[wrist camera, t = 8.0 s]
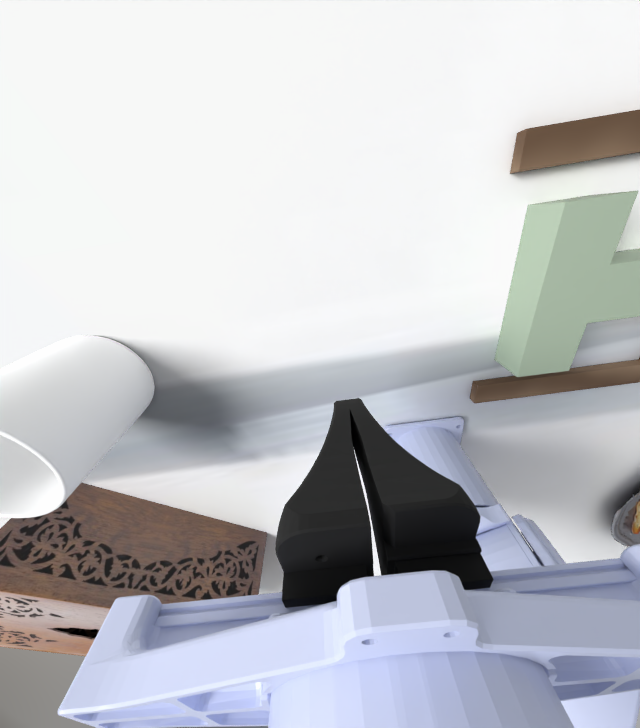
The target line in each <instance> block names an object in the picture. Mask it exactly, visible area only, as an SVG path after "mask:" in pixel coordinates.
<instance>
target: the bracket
mask: <svg viewBox="0 0 640 728" xmlns="http://www.w3.org/2000/svg"><path fill="white" fill-rule="evenodd" d="M639 152H640V110H635V111H629V112H623V113H617V114H611V115H605V116H599V117H593V118H588V119H582V120H576V121H570V122H564V123H558V124H552V125H546V126H540V127H535V128H529V129H525V130H523V131H521V132H518V133H517V137H516V143H515V149H514V154H513V160H512V165H511V171H510V173H516V172H523V171H529V170H535V169H541V168H547V167H553V166H559V165H565V164H572V163H578V162H584V161H590V160H596V159H602V158H608V157H614V156H621V155H627V154H633V153H639ZM637 382H640V358H639V360H631V361H624V362H616V363H608V364H601V365H593V366H586V367H578V368H570V369H569V371H563V372H555V373H547V374H539V375H531V376H523V377H516V376H510V377H502V378H494V379H487V380H479V381H473V383H472V389H471V395H470V399H471V400H472V401H473V402H474V403H481V402H489V401H497V400H505V399H512V398H520V397H528V396H536V395H544V394H551V393H559V392H567V391H575V390H583V389H590V388H598V387H606V386H614V385H622V384H629V383H637Z"/></svg>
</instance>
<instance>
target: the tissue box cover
mask: <svg viewBox="0 0 640 728" xmlns="http://www.w3.org/2000/svg"><path fill="white" fill-rule="evenodd" d="M266 537H267V533H266V532H262V531H259V530H255V529H251V528H248V527H244V526H240V525H236V524H233V523H229V522H225V521H222V520H218V519H214V518H210V517H207V516H203V515H199V514H196V513H192V512H188V511H184V510H181V509H177V508H173V507H170V506H166V505H162V504H158V503H155V502H151V501H147V500H144V499H140V498H136V497H132V496H129V495H125V494H121V493H118V492H114V491H110V490H106V489H103V488H99V487H95V486H92V485H88V484H84V483H80V485H79V486H78V487H77V488H76V489H75V490H74V491H73V492H72V494H71V495H70V496H69V497H68V498H67V499H66V500H65V502H64V503H63V504H62V505H61V506H60V507H59V508H57V509H56V510H54V511H52V512H50V513H48V514H45V515H42V516H37V517H31V518H11V519H10V520H9V521H8V522H7V523H6V524H5V525H4V526H3V527H2V528H1V529H0V647H8V648H17V649H27V650H35V651H45V652H53V653H62V654H72V655H81V656H86V655H87V653H88V651H89V649H90V647H91V646H92V644H93V642H94V640H95V638H96V636H97V634H98V632H99V630H100V628H101V626H102V624H103V622H104V620H105V618H106V617H107V615H108V613H109V611H110V609H111V607H112V605H113V603H114V601H115V599H117V598H119V597H127V596H137V595H152V596H155V597H157V598H158V599H159V600H160V602H161V603H162V604H170V603H180V602H190V601H200V600H210V599H220V598H230V597H240V596H250V595H258V593H259V586H260V579H261V572H262V565H263V558H264V551H265V544H266Z"/></svg>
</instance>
